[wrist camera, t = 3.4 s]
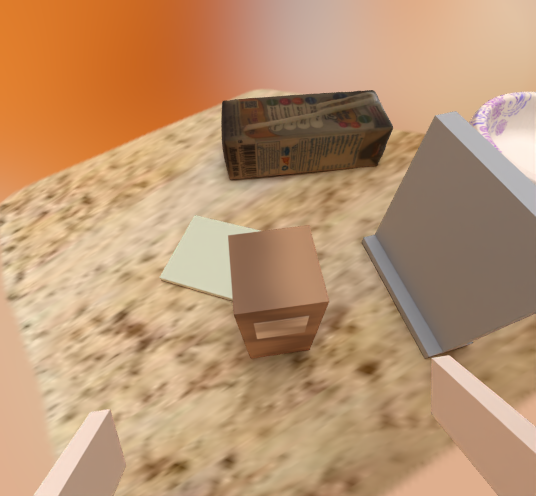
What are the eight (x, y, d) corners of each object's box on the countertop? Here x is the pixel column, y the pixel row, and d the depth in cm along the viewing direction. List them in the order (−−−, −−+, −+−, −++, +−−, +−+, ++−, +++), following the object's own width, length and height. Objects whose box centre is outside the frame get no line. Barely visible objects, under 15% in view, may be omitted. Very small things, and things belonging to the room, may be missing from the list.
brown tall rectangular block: (298, 295, 27) (309, 225, 18) (309, 350, 24) (329, 302, 15) (245, 302, 27) (227, 235, 17) (250, 359, 24) (233, 315, 15)
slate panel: (361, 241, 30) (417, 119, 18) (396, 232, 30) (473, 107, 18) (424, 358, 24) (574, 288, 12) (467, 345, 24) (653, 264, 12)
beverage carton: (380, 169, 36) (399, 121, 30) (227, 185, 35) (218, 139, 30) (362, 130, 40) (376, 81, 34) (225, 143, 39) (217, 96, 34)
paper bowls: (601, 270, 27) (706, 218, 21) (433, 230, 30) (477, 174, 24) (570, 165, 35) (639, 102, 28) (438, 141, 38) (472, 79, 31)
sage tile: (263, 234, 31) (263, 231, 30) (237, 302, 27) (237, 300, 26) (196, 218, 32) (194, 215, 32) (161, 280, 28) (159, 277, 28)
